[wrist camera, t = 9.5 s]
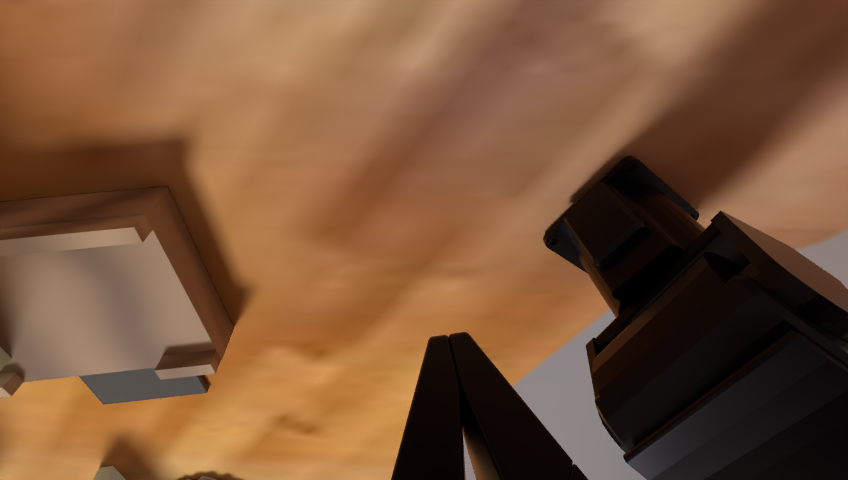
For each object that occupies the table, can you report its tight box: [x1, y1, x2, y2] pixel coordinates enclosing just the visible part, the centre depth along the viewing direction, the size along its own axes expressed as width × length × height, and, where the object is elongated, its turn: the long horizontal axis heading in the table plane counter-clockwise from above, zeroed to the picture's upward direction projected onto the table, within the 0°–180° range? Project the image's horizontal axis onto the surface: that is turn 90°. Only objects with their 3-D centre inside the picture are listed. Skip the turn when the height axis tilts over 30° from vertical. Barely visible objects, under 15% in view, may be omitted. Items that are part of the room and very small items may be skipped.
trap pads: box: [79, 368, 209, 405], centre depth 23 cm, size 12×21×1 cm, turn 3°
